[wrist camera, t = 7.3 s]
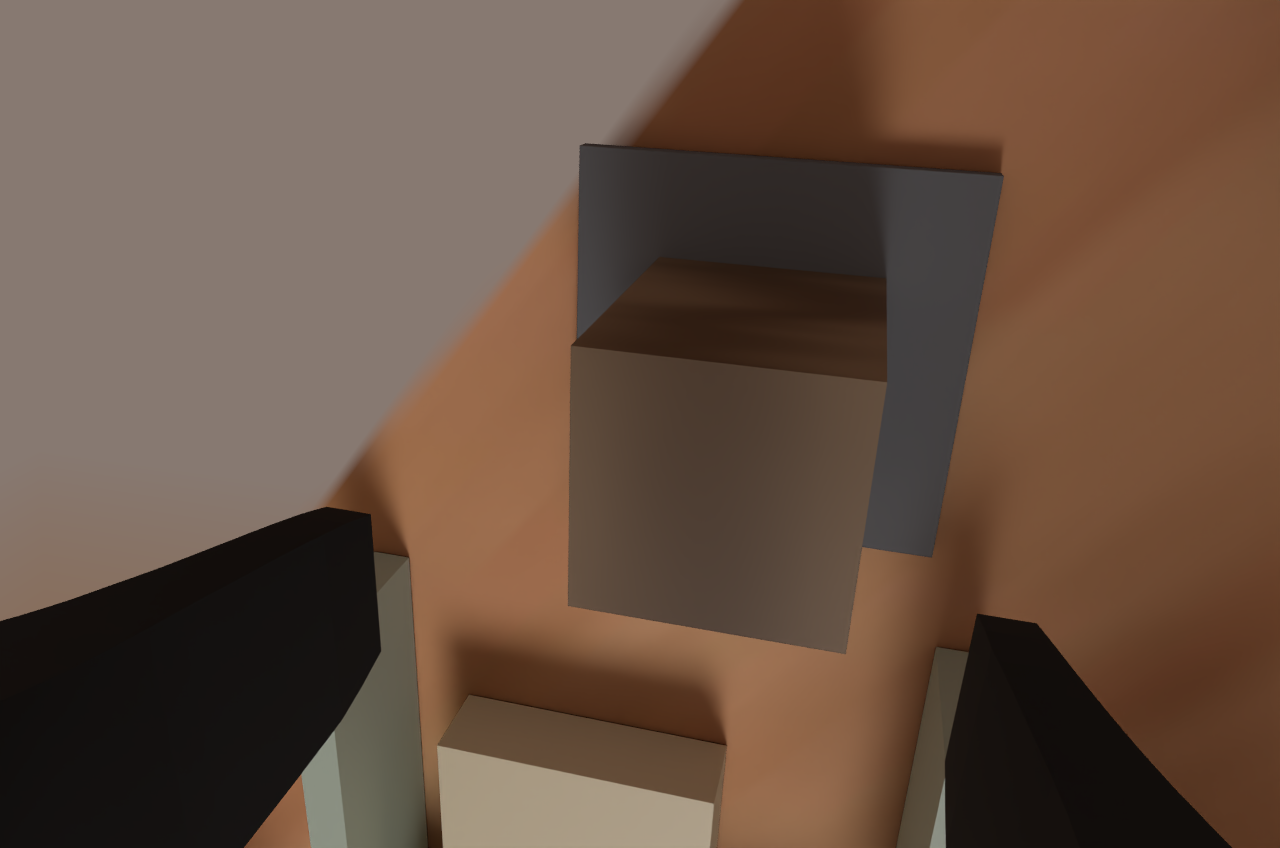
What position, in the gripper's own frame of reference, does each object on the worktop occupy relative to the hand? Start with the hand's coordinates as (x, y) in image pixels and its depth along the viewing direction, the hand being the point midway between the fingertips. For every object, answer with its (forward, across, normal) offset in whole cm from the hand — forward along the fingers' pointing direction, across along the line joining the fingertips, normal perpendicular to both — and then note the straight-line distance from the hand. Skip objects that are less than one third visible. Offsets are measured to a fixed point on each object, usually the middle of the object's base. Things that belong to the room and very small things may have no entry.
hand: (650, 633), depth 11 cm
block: (+10, 0, 0) cm, 10 cm away
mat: (+10, 0, 0) cm, 10 cm away
